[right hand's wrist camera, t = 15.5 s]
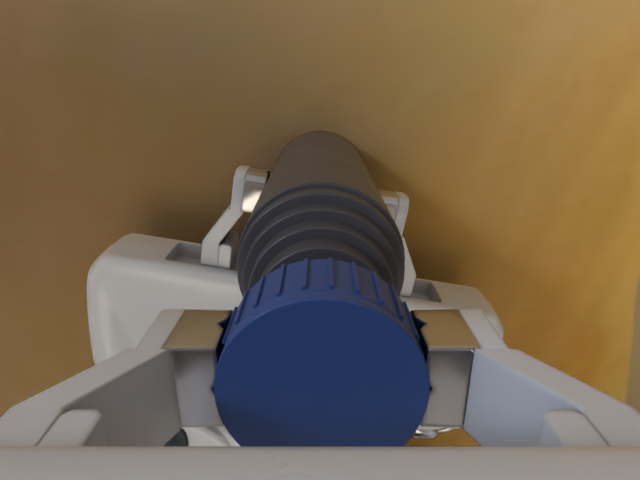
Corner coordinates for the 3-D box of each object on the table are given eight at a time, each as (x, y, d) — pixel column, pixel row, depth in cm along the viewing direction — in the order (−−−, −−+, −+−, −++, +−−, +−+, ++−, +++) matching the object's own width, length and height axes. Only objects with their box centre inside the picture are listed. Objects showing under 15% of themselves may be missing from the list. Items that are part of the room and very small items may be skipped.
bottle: (297, 114, 25) (247, 206, 7) (381, 156, 25) (513, 325, 8) (261, 197, 26) (148, 432, 9) (340, 233, 27) (377, 514, 10)
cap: (273, 223, 9) (262, 258, 7) (448, 302, 9) (476, 351, 8) (202, 376, 10) (178, 436, 8) (361, 437, 11) (368, 504, 9)
